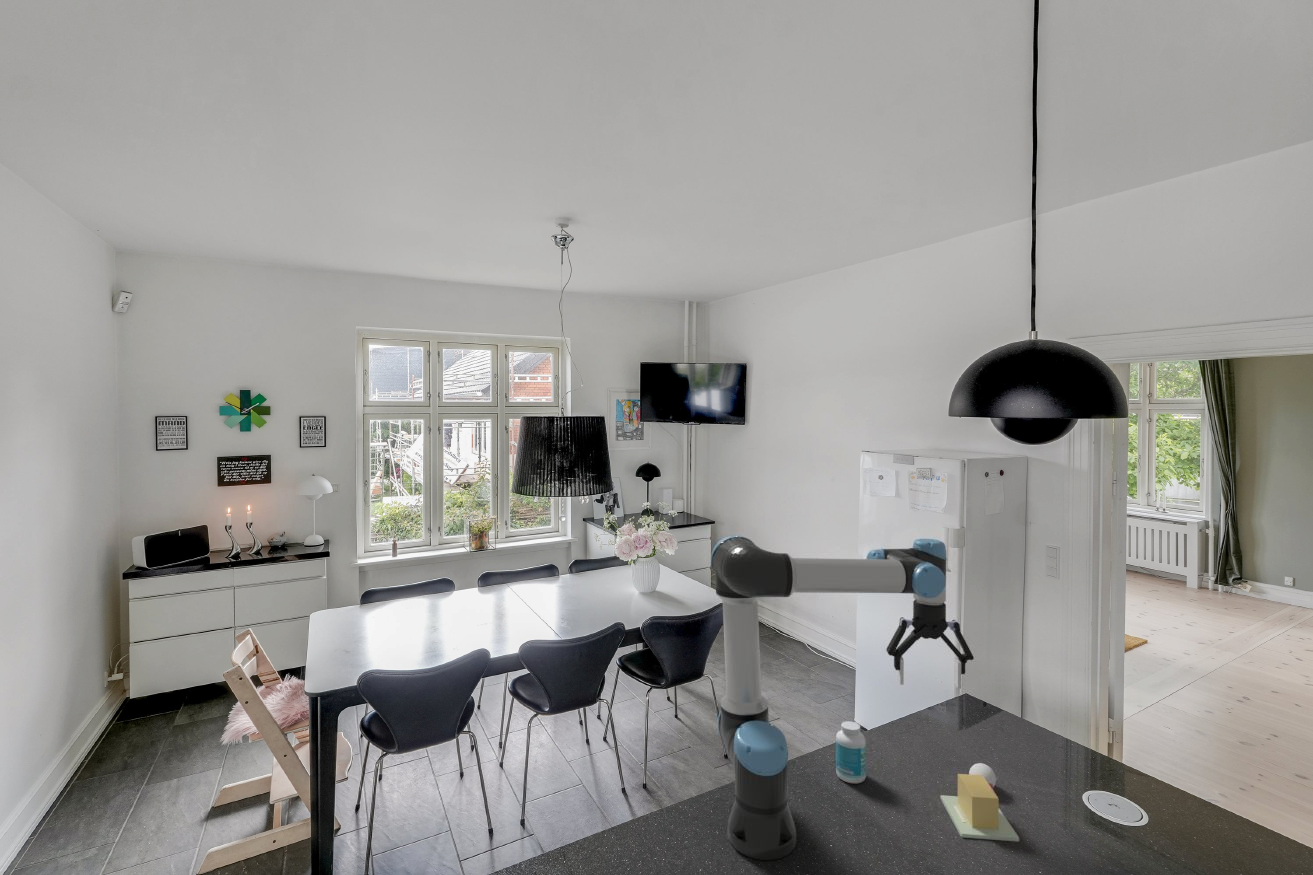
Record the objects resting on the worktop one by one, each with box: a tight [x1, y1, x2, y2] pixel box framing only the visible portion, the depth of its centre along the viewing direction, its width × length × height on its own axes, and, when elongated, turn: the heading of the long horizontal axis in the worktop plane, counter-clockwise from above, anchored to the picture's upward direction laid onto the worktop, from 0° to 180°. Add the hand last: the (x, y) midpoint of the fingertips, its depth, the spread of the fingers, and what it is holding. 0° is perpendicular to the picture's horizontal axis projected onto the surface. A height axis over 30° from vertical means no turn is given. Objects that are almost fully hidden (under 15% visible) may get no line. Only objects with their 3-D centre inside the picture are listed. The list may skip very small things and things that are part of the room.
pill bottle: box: [835, 720, 867, 784], centre depth 157 cm, size 8×7×14 cm
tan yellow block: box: [957, 773, 1000, 829], centre depth 140 cm, size 6×9×7 cm, turn 172°
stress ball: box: [968, 762, 997, 792], centre depth 152 cm, size 8×8×7 cm
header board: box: [940, 794, 1020, 842], centre depth 140 cm, size 12×14×5 cm
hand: (929, 684), depth 153 cm, fingers open, 13 cm apart
